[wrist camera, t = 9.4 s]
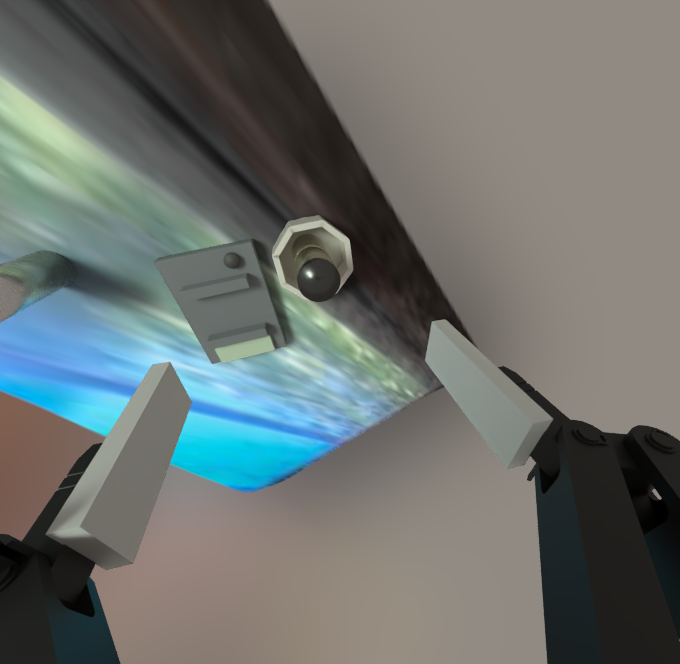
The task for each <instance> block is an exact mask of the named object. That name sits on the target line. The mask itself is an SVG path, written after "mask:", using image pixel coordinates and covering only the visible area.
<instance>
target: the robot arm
mask: <svg viewBox="0 0 680 664" xmlns="http://www.w3.org/2000/svg"><path fill="white" fill-rule="evenodd" d="M425 361H426V363H427V364H428V365H429V367H430V368H431V369H432V371H433V372H434V373H435V375H436V376H437V377H438V379H439V380H440V381H441V383H442V384H443V385H444V387H445V388H446V389H447V390H448V392H449V393H450V394H451V396H452V397H453V399H454V400H455V401H456V403H457V404H458V405H459V407H460V408H461V409H462V411H463V412H464V413H465V415H466V416H467V417H468V419H469V420H470V421H471V422H472V424H473V425H474V427H475V428H476V429H477V430H478V432H479V433H480V434H481V436H482V437H483V438H484V440H485V441H486V442H487V444H488V445H489V446H490V447H491V449H492V450H493V452H494V453H495V454H496V456H497V457H498V458H499V460H500V461H501V462H502V464H503V465H504V466H505V468H506V469H510V468H514V467H518V466H522V465H525V463H526V461H527V460H528V458H529V457H530V456H531V457H532V458H533V459H534V461H535V462H536V464H535V466H534V468H533V469H532V471H531V472H530V473H529V475H528V478H527V480H529V481H531V480H532V478H533V477H534V476H535V487H536V503H537V517H538V532H539V547H540V561H541V576H542V591H543V606H544V620H545V634H546V650H547V663H548V664H680V641H679V639H680V441H679V440H678V439H676V438H674V437H673V436H671V435H670V434H668V433H666V432H664V431H661V430H659V429H657V428H653V427H649V426H641V425H638V426H636V427H633V428H632V429H631V430H630V431H629V433H628V434H616V433H605V432H602V431H600V430H599V429H597V428H595V427H594V426H593V425H590V424H587V423H585V422H582V421H577V420H570V419H569V418H568V417H566V416H565V415H564V414H563V413H562V412H560V411H559V410H558V409H557V408H556V407H555V406H553V405H552V404H551V403H550V402H549V401H548V400H547V399H546V398H544V397H543V396H542V395H541V394H540V393H539V392H538V391H535V390H534V388H533V387H532V386H531V385H530V384H527V383H526V381H525V380H524V379H523V378H522V377H520V376H519V375H518V374H517V373H515V372H514V371H511V370H510V369H508V368H506V367H504V366H502V367H496V366H495V365H494V364H493V363H492V362H491V361H490V360H489V359H488V358H487V357H486V356H485V355H483V354H482V353H481V352H480V351H479V350H478V349H477V348H476V347H475V346H474V345H473V344H471V343H470V342H469V341H468V340H467V339H466V338H465V337H464V336H463V335H462V334H461V333H460V332H458V331H457V330H456V329H455V328H454V327H453V326H452V325H451V324H450V323H449V322H448V321H447V320H445V319H444V320H438V321H432V325H431V330H430V336H429V342H428V348H427V353H426V359H425ZM191 403H192V402H191V400H190V398H189V396H188V394H187V392H186V390H185V389H184V387H183V385H182V383H181V381H180V379H179V377H178V376H177V374H176V372H175V370H174V368H173V366H172V364H171V363H170V362H167V363H160V364H154V365H152V366H151V368H150V369H149V371H148V373H147V374H146V376H145V377H144V379H143V380H142V382H141V384H140V385H139V387H138V388H137V390H136V392H135V393H134V395H133V396H132V398H131V399H130V401H129V403H128V404H127V406H126V407H125V409H124V411H123V412H122V414H121V415H120V417H119V418H118V420H117V422H116V423H115V425H114V426H113V428H112V430H111V431H110V433H109V434H108V436H107V437H106V439H105V441H104V442H103V443H99V444H94V445H92V446H91V447H90V448H89V449H88V450H87V451H86V452H85V453H84V454H83V455H82V456H81V457H80V458H79V459H78V460H77V461H76V463H75V464H74V466H73V467H72V469H71V470H70V472H69V473H68V474H67V475H68V476H67V478H65V479H64V480H63V482H62V483H61V485H60V486H59V490H58V491H56V492H55V493H54V495H53V496H52V498H51V499H50V501H49V502H48V504H47V505H46V507H45V508H44V510H43V511H42V513H41V514H40V515H39V517H38V519H37V520H36V521H35V523H34V524H33V526H32V527H31V529H30V530H29V532H28V533H27V535H26V536H25V538H24V539H23V540H22V542H21V541H19V540H17V539H16V538H14V537H12V536H10V535H6V534H0V664H120V661H119V658H118V655H117V651H116V649H115V645H114V642H113V639H112V636H111V633H110V630H109V627H108V624H107V620H106V618H105V614H104V611H103V608H102V605H101V602H100V599H99V596H98V593H97V589H96V586H95V583H94V581H93V580H92V579H91V578H90V577H89V576H90V574H91V572H92V570H93V568H94V566H95V564H97V565H98V566H100V567H102V568H103V569H105V570H109V569H113V568H116V567H121V566H124V565H129V564H133V562H134V560H135V557H136V554H137V552H138V549H139V546H140V543H141V541H142V538H143V535H144V532H145V530H146V527H147V524H148V521H149V519H150V516H151V513H152V511H153V508H154V505H155V502H156V499H157V496H158V494H159V491H160V488H161V485H162V483H163V480H164V478H165V475H166V472H167V469H168V467H169V464H170V461H171V458H172V456H173V453H174V450H175V447H176V445H177V442H178V439H179V436H180V434H181V431H182V428H183V425H184V423H185V420H186V417H187V414H188V412H189V409H190V406H191ZM653 489H656V490H657V492H658V493H659V495H660V496H661V498H662V499H661V500H659V499H658V498H657V497H656V496H655V495H654V493H653V492H652V490H653ZM678 637H679V638H678Z"/></svg>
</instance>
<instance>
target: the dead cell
mask: <svg viewBox="0 0 680 664" xmlns="http://www.w3.org/2000/svg"><path fill="white" fill-rule="evenodd" d="M292 253H293V259H294V265H295V271H296V277H297V283H298V288H299V290H300V292H301V294H302V295H303V296H304V297H305V298H307V299H309V300H311V301H315V302H322V301H326V300H328V299H330V298H332V297H333V296H334V295H335V294H336V293H337V291H338V290H339V287H340V283H341V278H340V274H339V272H338V270H337V268H336V266H335V265H334V263H333V261H332V260H331V258H330V256H329V254H328V253H327V251H326V249H325V247H324V246H323V244H322V242H321V241H320V239H319V238H318V237H316V236H315V235H312V234H303V235H301V236H299V237H298V238H297V239H296V240H295V241H294V243H293V246H292Z"/></svg>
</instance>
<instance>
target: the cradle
mask: <svg viewBox="0 0 680 664" xmlns="http://www.w3.org/2000/svg"><path fill="white" fill-rule="evenodd" d="M154 263H155V265H156V267H157V269H158V270H159V272H160V274H161V276H162V277H163V279H164V281H165V283H166V284H167V286H168V288H169V290H170V291H171V293H172V295H173V297H174V298H175V300H176V302H177V303H178V305H179V307H180V309H181V310H182V312H183V314H184V316H185V317H186V319H187V321H188V323H189V324H190V326H191V328H192V330H193V331H194V333H195V335H196V337H197V338H198V340H199V342H200V344H201V345H202V347H203V349H204V351H205V352H206V354H207V356H208V358H209V359H210V361H211V363H212V364H214V363H218V362H222V363H224V362H228V361H232V360H236V359H240V358H244V357H249V356H253V355H257V354H261V353H265V352H269V351H273V350H275V349H276V348H280V347H284V346H286V338H285V335H284V332H283V329H282V326H281V323H280V320H279V317H278V314H277V311H276V308H275V305H274V302H273V299H272V296H271V293H270V290H269V287H268V284H267V281H266V278H265V275H264V272H263V269H262V266H261V263H260V260H259V257H258V254H257V251H256V248H255V245H254V242H253V239H248V240H243V241H238V242H233V243H228V244H223V245H219V246H214V247H209V248H204V249H199V250H194V251H189V252H184V253H179V254H175V255H170V256H165V257H160V258H158V259H157V260H155V261H154Z"/></svg>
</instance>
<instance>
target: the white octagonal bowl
mask: <svg viewBox="0 0 680 664" xmlns="http://www.w3.org/2000/svg"><path fill="white" fill-rule="evenodd" d="M303 234H312V235H315V236H316V237H318V238H319V239H320V241H321V242H322V244H323V246H324V247H325V249H326V251H327V253H328V254H329V256H330V258H331V260H332V261H333V263H334V265H335V266H336V268H337V270H338V272H339V274H340V278H341V283H340V287H339V290H340V288H341V287H342V285H343V284H344V283H345V281H346V280H347V279H348V277H349V276H350V274H351V273H352V272H353V263H352V255H351V247H350V240H349V239H348V237H347V236H346V235H345V234H344V233H342V232H341V231H340V230H338V229H337V228H336V227H334V226H333V225H332V224H331V223H329V222H328V221H326V220H325V219H324V218H322V217H321V216H320V215H317V216H312V217H302V218H299V219H296V220H292V221H289V222H288V223H287V224H286V226H285V228H284V229H283V231H282V232H281V234H280V235H279V237H278V240H277V242H276V243H275V245H274V247H273V253H272V257H273V261H274V264H275V267H276V271H277V274H278V277H279V280H280V284H281V286H282V287H283V288H285V289H287V290H289V291H291V292H293V293H294V294H296V295H298V296H300V297H302V298H303V299H305V300H308V301H309V299H307V298H305V297H304V296H303V295H302V294H301V292H300V290H299V288H298V283H297V277H296V271H295V265H294V259H293V253H292V246H293V243H294V241H295V240H296V239H297V238H298V237H299V236H301V235H303ZM339 290H338V291H339ZM338 291H337V292H338ZM336 294H337V293H336Z"/></svg>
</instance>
